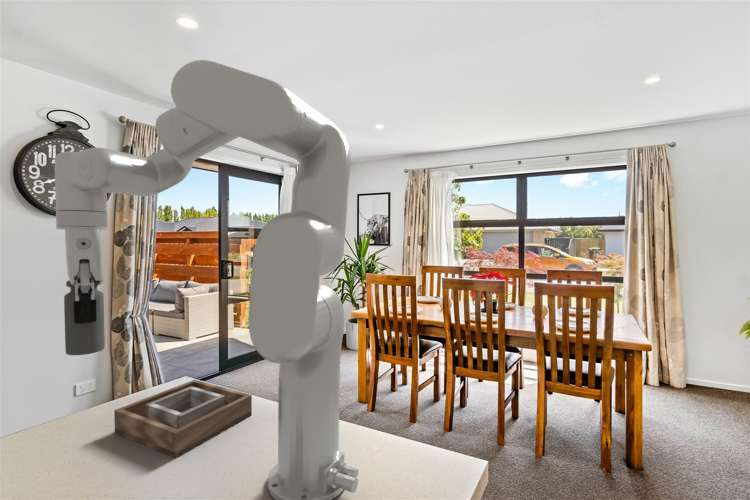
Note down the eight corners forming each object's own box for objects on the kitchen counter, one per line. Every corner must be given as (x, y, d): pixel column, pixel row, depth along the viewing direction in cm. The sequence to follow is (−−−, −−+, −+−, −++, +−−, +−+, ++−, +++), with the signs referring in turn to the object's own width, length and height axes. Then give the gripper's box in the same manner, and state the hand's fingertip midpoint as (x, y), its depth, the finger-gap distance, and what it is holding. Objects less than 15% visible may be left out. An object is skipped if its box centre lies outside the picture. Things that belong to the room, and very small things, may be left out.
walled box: (251, 415, 83) (251, 392, 83) (175, 458, 67) (175, 430, 67) (194, 398, 91) (194, 377, 91) (114, 432, 75) (114, 407, 75)
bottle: (112, 346, 74) (110, 269, 74) (86, 356, 69) (84, 272, 68) (84, 345, 75) (82, 268, 74) (56, 355, 69) (54, 271, 68)
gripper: (111, 221, 66) (113, 325, 67) (104, 223, 80) (106, 309, 81) (54, 220, 62) (57, 331, 62) (57, 222, 75) (59, 313, 76)
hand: (84, 318), depth 71 cm, fingers closed on bottle, 5 cm apart
